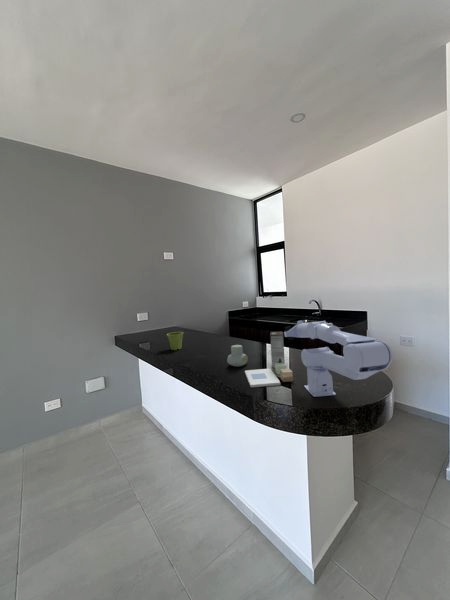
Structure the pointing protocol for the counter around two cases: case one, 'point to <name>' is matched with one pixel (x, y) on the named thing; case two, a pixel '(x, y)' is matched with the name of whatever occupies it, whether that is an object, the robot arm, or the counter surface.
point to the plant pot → (175, 340)
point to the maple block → (286, 375)
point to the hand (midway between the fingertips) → (293, 330)
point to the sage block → (279, 367)
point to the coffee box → (277, 347)
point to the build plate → (261, 378)
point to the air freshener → (237, 356)
